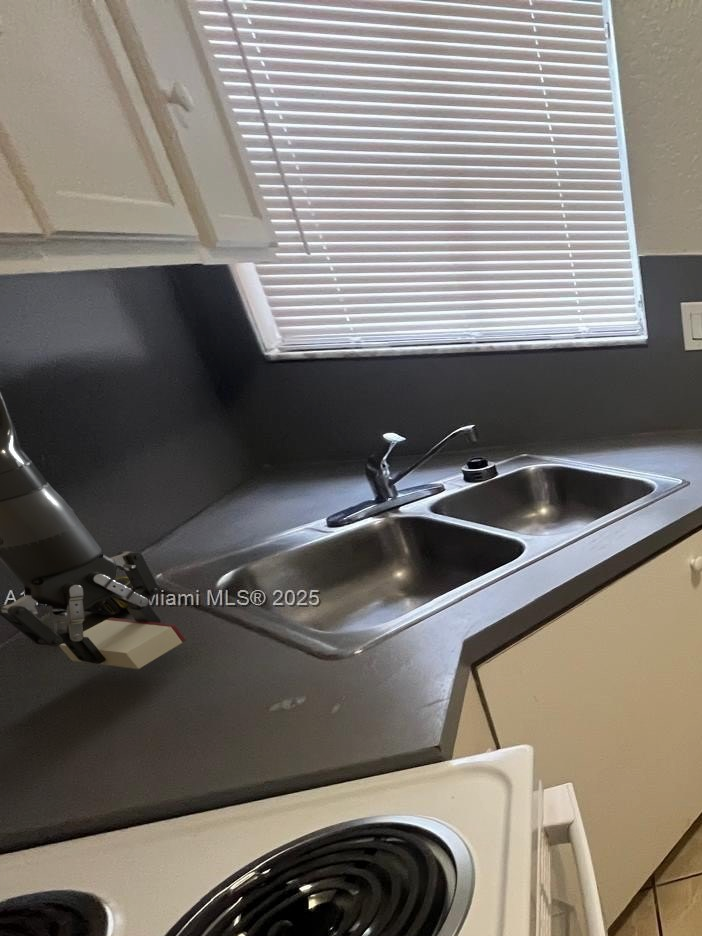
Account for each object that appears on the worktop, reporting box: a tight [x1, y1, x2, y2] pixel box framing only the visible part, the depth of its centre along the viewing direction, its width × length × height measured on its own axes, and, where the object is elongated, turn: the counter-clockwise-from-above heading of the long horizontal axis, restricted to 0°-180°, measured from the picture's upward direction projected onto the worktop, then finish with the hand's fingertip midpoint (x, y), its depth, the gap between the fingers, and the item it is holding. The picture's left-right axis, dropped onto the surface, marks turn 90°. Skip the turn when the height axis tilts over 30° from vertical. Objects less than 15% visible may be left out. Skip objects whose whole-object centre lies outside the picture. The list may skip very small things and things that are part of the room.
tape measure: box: [84, 576, 135, 617], centre depth 95 cm, size 7×7×4 cm
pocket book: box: [58, 617, 187, 670], centre depth 81 cm, size 11×6×3 cm, turn 78°
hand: (126, 645), depth 81 cm, fingers closed on pocket book, 6 cm apart
